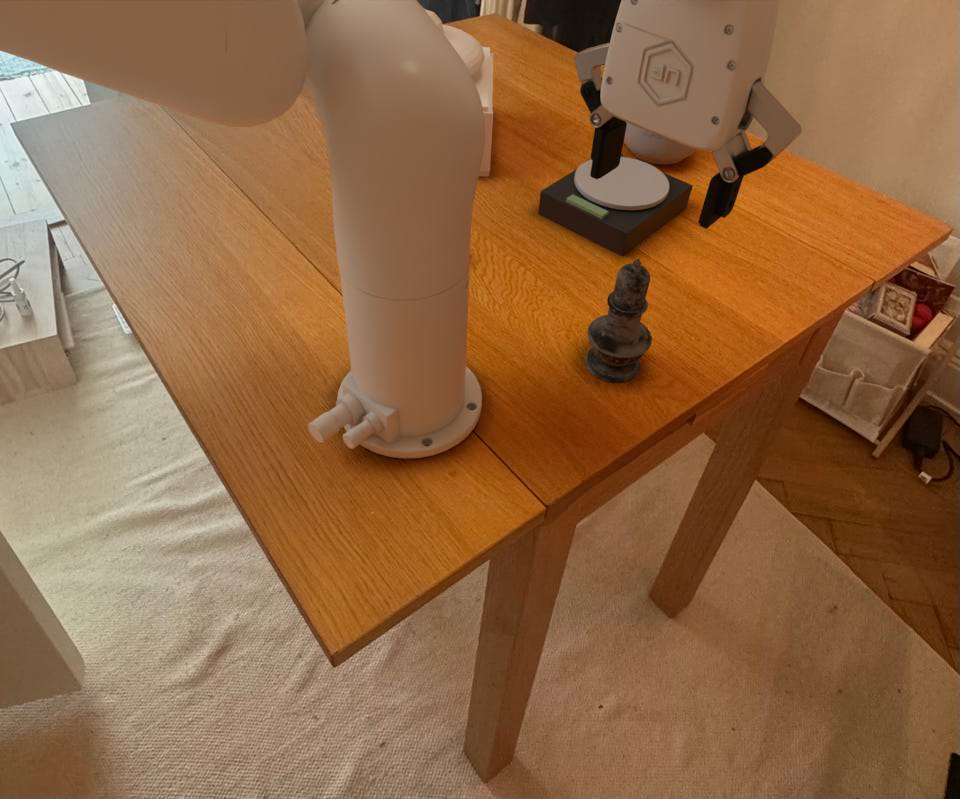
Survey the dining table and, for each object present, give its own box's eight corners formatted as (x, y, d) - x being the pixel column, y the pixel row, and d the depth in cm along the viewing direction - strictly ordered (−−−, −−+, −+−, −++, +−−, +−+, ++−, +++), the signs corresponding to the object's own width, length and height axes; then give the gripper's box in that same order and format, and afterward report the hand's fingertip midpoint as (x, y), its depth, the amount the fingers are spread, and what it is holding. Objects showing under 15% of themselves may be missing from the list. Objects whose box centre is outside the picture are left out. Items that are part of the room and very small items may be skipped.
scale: (622, 256, 81) (628, 227, 78) (537, 213, 86) (541, 184, 84) (686, 207, 89) (694, 179, 86) (605, 170, 94) (610, 142, 91)
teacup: (635, 178, 93) (648, 117, 87) (603, 137, 100) (613, 78, 94) (733, 167, 96) (752, 107, 90) (695, 128, 103) (710, 70, 97)
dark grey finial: (642, 345, 71) (670, 241, 62) (645, 388, 67) (676, 284, 58) (582, 339, 71) (602, 235, 63) (581, 381, 67) (603, 277, 59)
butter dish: (489, 176, 92) (497, 45, 80) (345, 169, 91) (332, 36, 80) (491, 112, 104) (497, -11, 92) (363, 105, 103) (354, -19, 92)
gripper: (562, -77, 46) (538, 172, 58) (827, -4, 38) (733, 263, 51) (629, -98, 50) (592, 139, 62) (880, -36, 42) (781, 219, 55)
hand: (656, 195), depth 56 cm, fingers open, 9 cm apart
